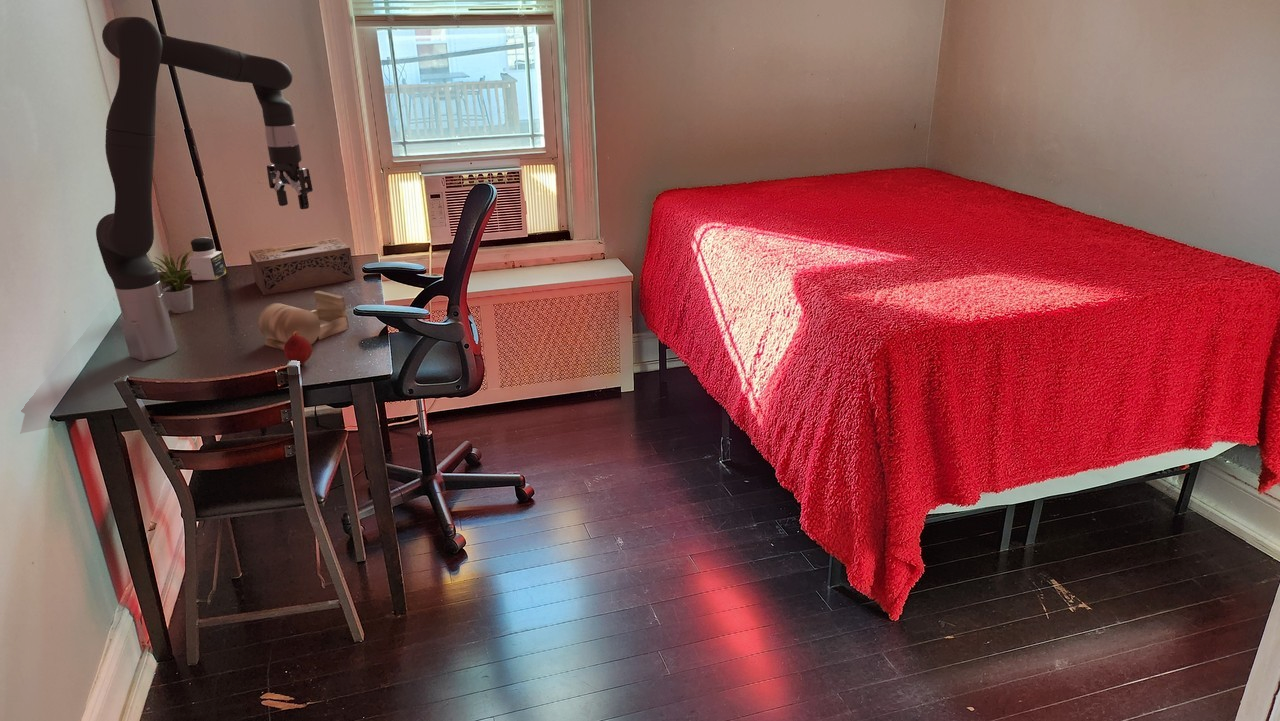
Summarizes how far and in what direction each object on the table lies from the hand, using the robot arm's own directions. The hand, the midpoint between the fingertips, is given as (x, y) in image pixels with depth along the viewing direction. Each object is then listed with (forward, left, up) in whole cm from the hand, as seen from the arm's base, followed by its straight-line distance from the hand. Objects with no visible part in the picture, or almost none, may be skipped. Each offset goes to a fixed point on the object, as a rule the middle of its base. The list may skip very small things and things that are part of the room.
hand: (294, 207), depth 218 cm
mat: (-11, -17, -27) cm, 34 cm away
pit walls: (-11, -17, -27) cm, 34 cm away
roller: (-20, -19, -27) cm, 39 cm away
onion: (-28, -33, -27) cm, 51 cm away
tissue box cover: (+14, +22, -28) cm, 38 cm away
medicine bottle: (+2, +52, -27) cm, 59 cm away
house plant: (-19, +30, -27) cm, 45 cm away
